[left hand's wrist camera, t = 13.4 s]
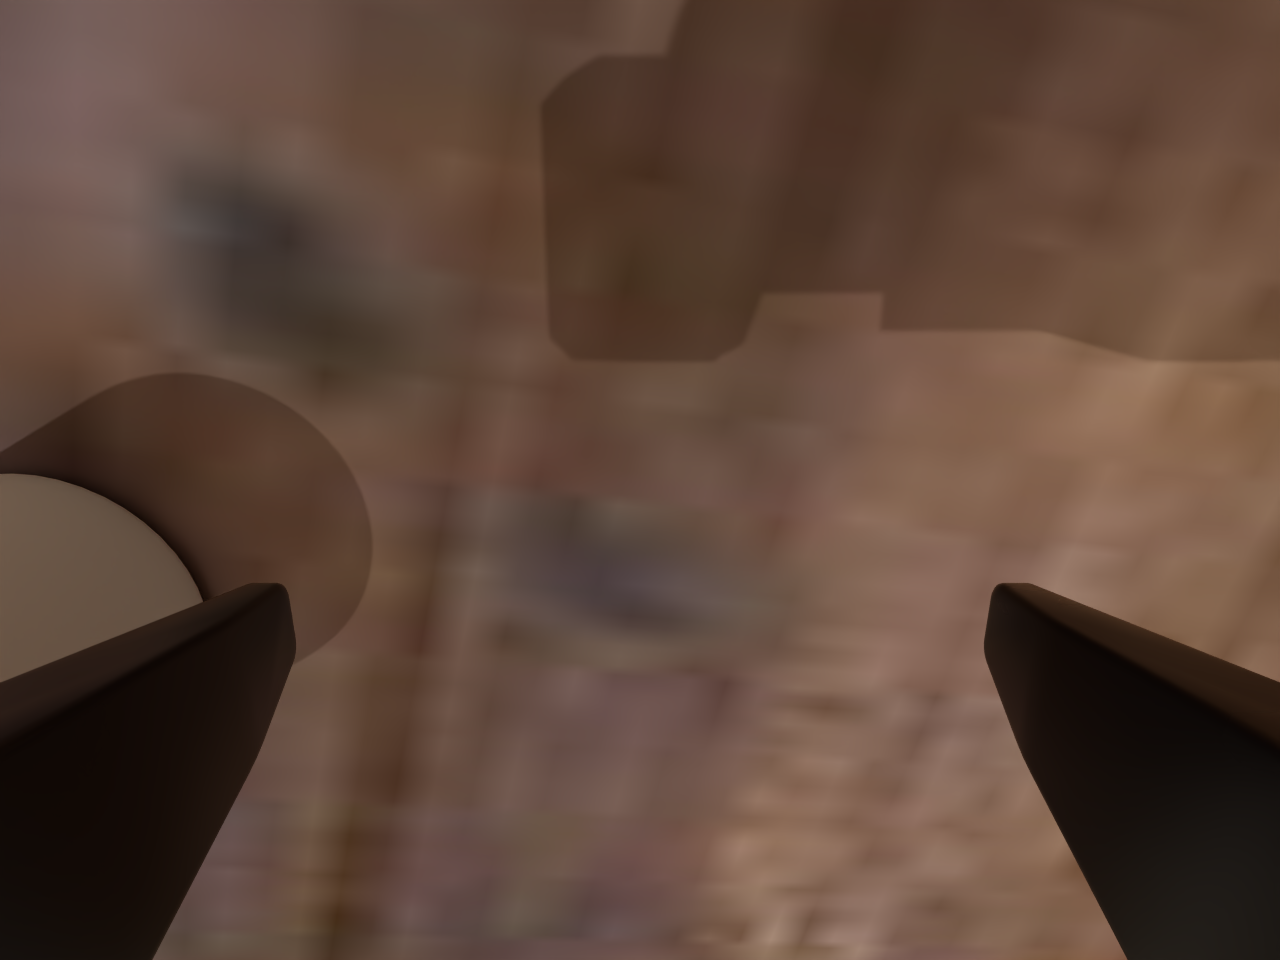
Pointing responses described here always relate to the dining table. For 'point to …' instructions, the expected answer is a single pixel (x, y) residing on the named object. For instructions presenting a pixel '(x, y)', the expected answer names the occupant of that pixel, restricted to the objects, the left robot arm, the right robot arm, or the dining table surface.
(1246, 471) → the dining table surface
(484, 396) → the dining table surface
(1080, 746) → the left robot arm
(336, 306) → the dining table surface
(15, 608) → the mug
